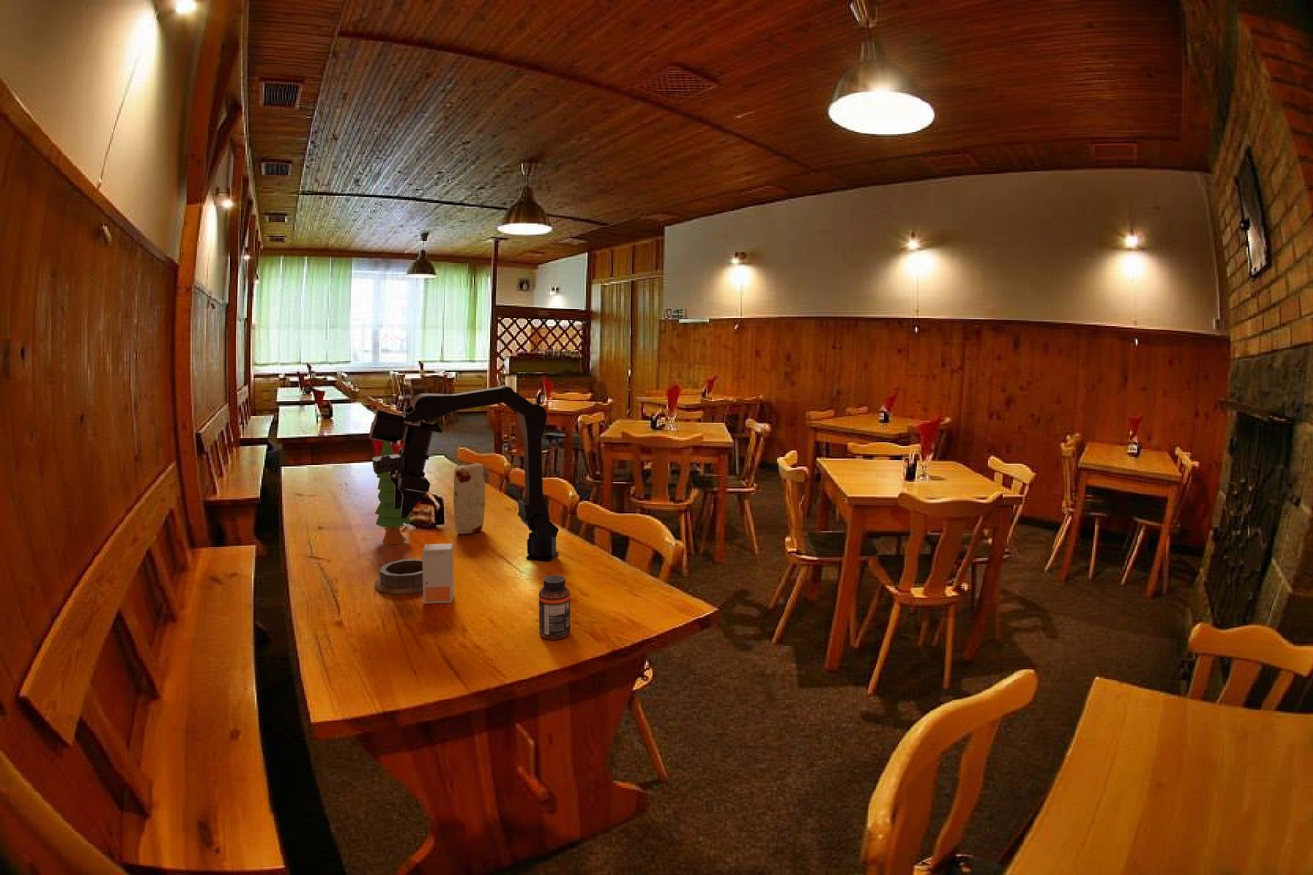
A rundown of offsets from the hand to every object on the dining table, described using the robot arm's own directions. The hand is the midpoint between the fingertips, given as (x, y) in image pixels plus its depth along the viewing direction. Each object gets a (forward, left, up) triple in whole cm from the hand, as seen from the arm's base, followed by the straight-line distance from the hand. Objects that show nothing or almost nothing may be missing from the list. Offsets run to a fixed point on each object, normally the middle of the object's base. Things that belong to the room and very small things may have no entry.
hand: (400, 513), depth 161 cm
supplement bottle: (-46, +19, -15) cm, 52 cm away
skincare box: (-16, +10, -15) cm, 24 cm away
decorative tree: (+17, -24, -15) cm, 33 cm away
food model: (+2, -37, -15) cm, 40 cm away
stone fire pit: (-4, +3, -15) cm, 16 cm away
